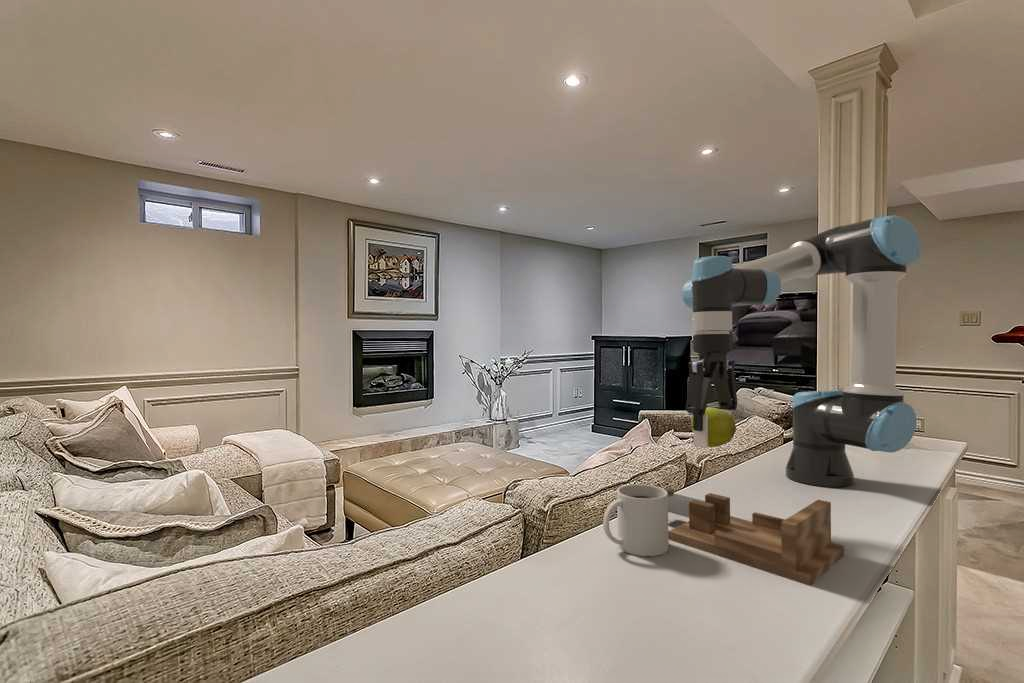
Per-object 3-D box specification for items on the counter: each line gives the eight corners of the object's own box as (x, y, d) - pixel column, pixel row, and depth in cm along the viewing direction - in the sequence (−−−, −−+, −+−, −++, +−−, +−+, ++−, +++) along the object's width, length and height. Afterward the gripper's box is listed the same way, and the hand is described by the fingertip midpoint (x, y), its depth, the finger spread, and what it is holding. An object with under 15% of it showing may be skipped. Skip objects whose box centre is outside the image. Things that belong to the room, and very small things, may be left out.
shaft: (668, 508, 106) (668, 487, 106) (715, 521, 98) (715, 498, 98) (656, 513, 103) (656, 491, 103) (704, 527, 95) (703, 504, 95)
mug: (669, 539, 94) (668, 486, 94) (667, 561, 85) (666, 502, 85) (610, 533, 98) (609, 481, 98) (602, 553, 89) (601, 496, 89)
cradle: (710, 518, 105) (710, 477, 105) (844, 554, 87) (843, 505, 87) (668, 539, 94) (667, 493, 94) (809, 585, 76) (809, 529, 76)
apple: (681, 443, 106) (680, 405, 106) (719, 441, 108) (719, 404, 108) (702, 451, 99) (702, 410, 99) (743, 449, 101) (743, 409, 101)
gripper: (721, 333, 113) (722, 434, 113) (665, 333, 100) (666, 448, 100) (755, 332, 107) (755, 439, 107) (700, 332, 94) (701, 454, 94)
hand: (712, 443), depth 104 cm, fingers closed on apple, 8 cm apart
